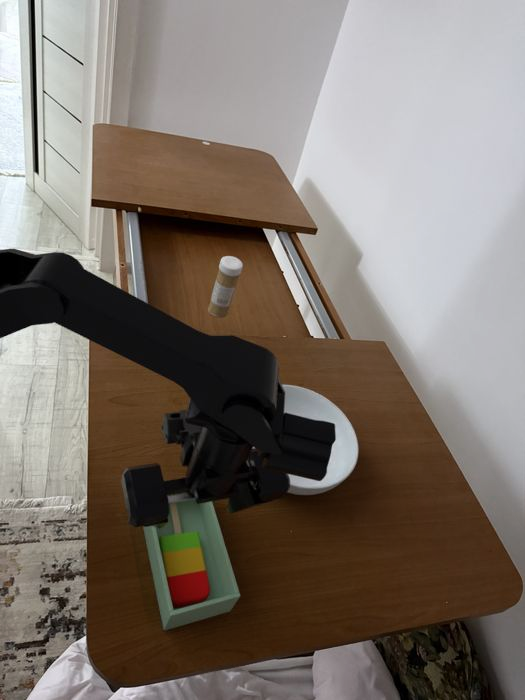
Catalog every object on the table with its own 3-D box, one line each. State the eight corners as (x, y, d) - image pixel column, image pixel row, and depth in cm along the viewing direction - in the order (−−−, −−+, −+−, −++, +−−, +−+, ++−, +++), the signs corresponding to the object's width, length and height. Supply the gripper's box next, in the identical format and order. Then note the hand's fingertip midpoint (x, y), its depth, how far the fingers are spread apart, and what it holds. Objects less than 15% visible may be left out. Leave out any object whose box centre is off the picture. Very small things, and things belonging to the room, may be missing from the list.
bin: (230, 611, 67) (240, 596, 63) (163, 631, 63) (170, 616, 59) (197, 493, 78) (204, 474, 74) (138, 504, 74) (142, 485, 70)
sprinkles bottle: (230, 310, 111) (246, 260, 102) (223, 321, 108) (239, 271, 99) (211, 302, 111) (225, 252, 102) (204, 313, 108) (217, 262, 99)
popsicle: (168, 611, 64) (170, 605, 63) (152, 504, 74) (154, 497, 73) (209, 602, 67) (213, 597, 65) (189, 499, 76) (191, 493, 75)
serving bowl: (357, 445, 94) (373, 423, 89) (318, 534, 79) (335, 513, 74) (261, 389, 97) (272, 365, 92) (206, 465, 82) (215, 440, 77)
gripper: (275, 381, 62) (243, 452, 72) (119, 395, 54) (109, 473, 64) (311, 459, 55) (270, 525, 65) (138, 488, 47) (123, 558, 57)
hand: (195, 517), depth 63 cm, fingers open, 9 cm apart
